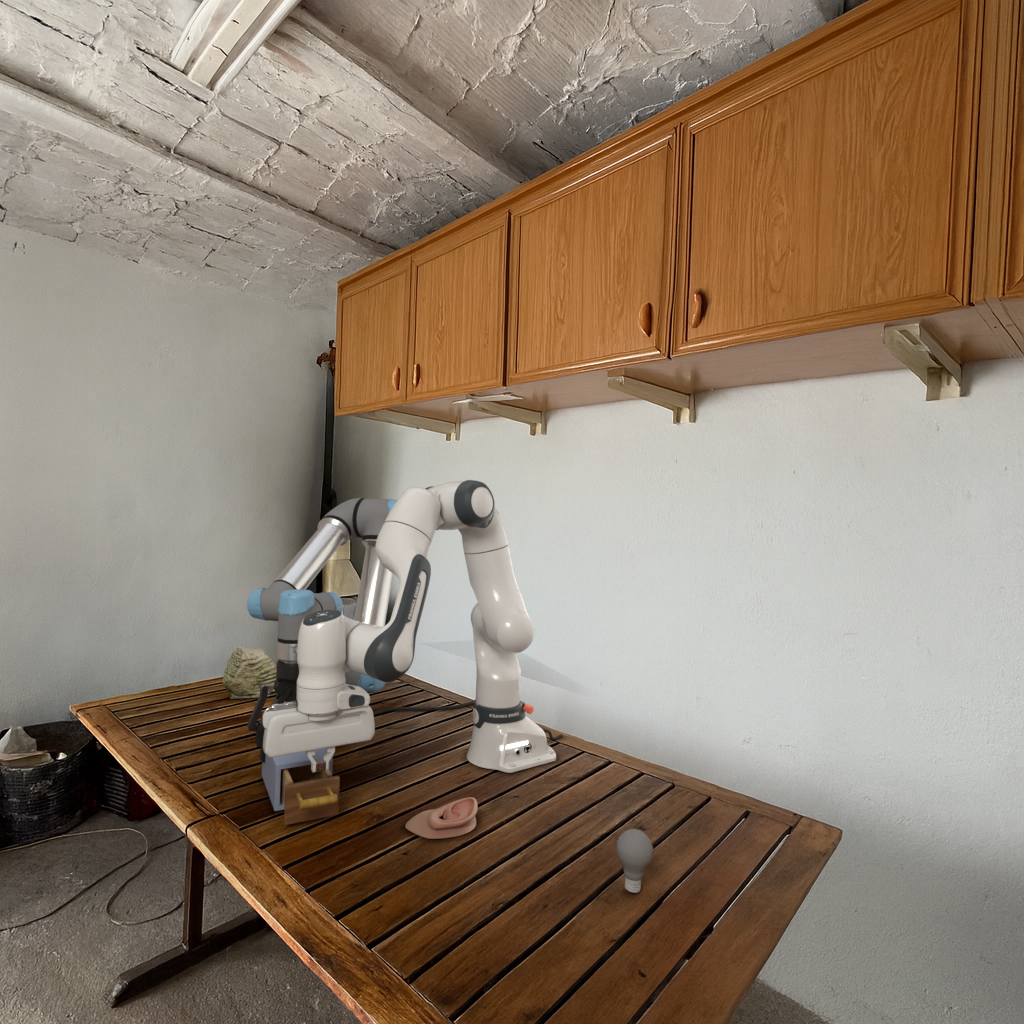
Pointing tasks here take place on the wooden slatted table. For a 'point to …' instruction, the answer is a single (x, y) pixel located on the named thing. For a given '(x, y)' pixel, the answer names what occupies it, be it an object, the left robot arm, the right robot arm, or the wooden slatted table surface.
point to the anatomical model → (445, 820)
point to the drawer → (308, 794)
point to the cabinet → (275, 764)
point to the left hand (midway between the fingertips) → (290, 755)
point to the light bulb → (634, 857)
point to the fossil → (248, 672)
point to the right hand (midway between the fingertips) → (319, 770)
